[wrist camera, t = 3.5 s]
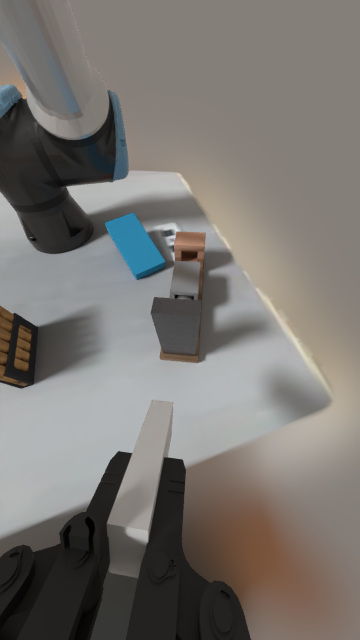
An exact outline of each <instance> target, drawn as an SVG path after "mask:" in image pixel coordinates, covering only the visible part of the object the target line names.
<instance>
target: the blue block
mask: <svg viewBox="0 0 360 640" xmlns="http://www.w3.org/2000/svg"><path fill="white" fill-rule="evenodd" d="M105 225H106V228H107V231H108V233H109V234H110V236H111V238H112V240H113V241H114V243H115V245H116V246H117V248H118V250H119V251H120V253H121V255H122V256H123V258H124V260H125V261H126V263H127V265H128V266H129V268H130V270H131V271H132V273H133V275H134V276H135V278H136V279H137V280H138V279H140V278H142V277H144V276H147V275H149V274H151V273H153V272H155V271H158V270H160V269H162V268H164V267H165V260H164V258H163V257H162V255H161V254H160V252H159V251H158V249H157V248H156V246H155V245H154V243H153V242H152V240H151V238H150V237H149V235H148V234H147V232H146V231H145V229H144V228H143V226H142V225H141V223H140V222H139V220H138V218H137V217H136V215H135V214H134V213H131V214H128V215H125V216H122V217H119V218H116V219H114V220H111V221H108V222H105Z"/></svg>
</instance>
